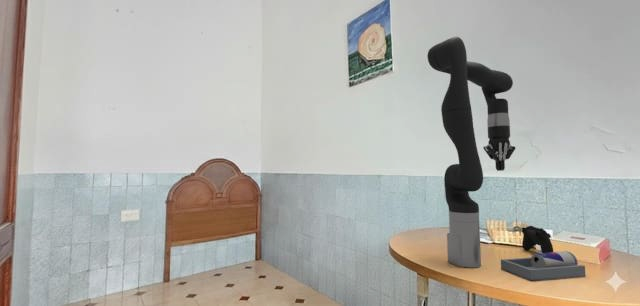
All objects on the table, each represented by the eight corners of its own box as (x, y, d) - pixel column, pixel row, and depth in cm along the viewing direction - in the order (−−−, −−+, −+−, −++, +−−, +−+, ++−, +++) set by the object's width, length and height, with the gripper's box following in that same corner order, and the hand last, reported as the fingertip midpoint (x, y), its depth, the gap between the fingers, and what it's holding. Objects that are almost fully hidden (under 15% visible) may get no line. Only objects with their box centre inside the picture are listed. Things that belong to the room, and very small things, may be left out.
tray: (531, 281, 86) (531, 270, 86) (501, 269, 96) (500, 259, 96) (585, 276, 89) (584, 265, 89) (550, 265, 100) (549, 256, 100)
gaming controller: (560, 259, 107) (559, 230, 107) (543, 259, 107) (541, 230, 108) (533, 249, 121) (532, 223, 122) (517, 249, 121) (516, 223, 122)
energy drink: (567, 247, 95) (536, 249, 93) (582, 262, 91) (550, 265, 88) (557, 258, 98) (527, 260, 96) (571, 272, 94) (540, 276, 91)
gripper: (490, 124, 115) (492, 170, 114) (520, 125, 118) (523, 170, 116) (476, 127, 122) (478, 170, 121) (505, 127, 125) (507, 170, 124)
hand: (500, 170), depth 119 cm, fingers closed
